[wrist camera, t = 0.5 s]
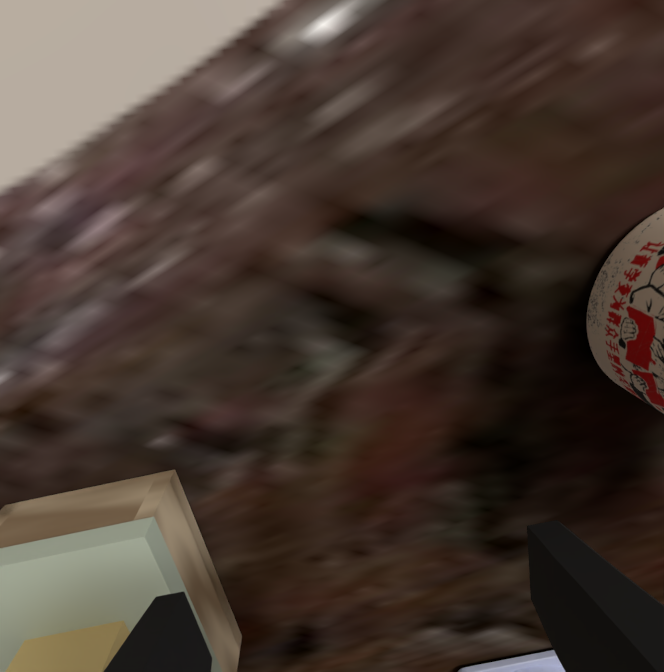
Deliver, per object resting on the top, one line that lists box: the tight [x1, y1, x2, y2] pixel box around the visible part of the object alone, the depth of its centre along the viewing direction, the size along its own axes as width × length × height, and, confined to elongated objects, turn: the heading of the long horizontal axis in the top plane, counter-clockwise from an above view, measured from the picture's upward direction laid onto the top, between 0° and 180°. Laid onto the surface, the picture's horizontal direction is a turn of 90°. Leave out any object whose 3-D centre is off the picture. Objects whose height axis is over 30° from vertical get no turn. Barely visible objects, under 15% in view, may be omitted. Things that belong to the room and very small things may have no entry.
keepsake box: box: [0, 470, 242, 672], centre depth 20 cm, size 11×8×3 cm
